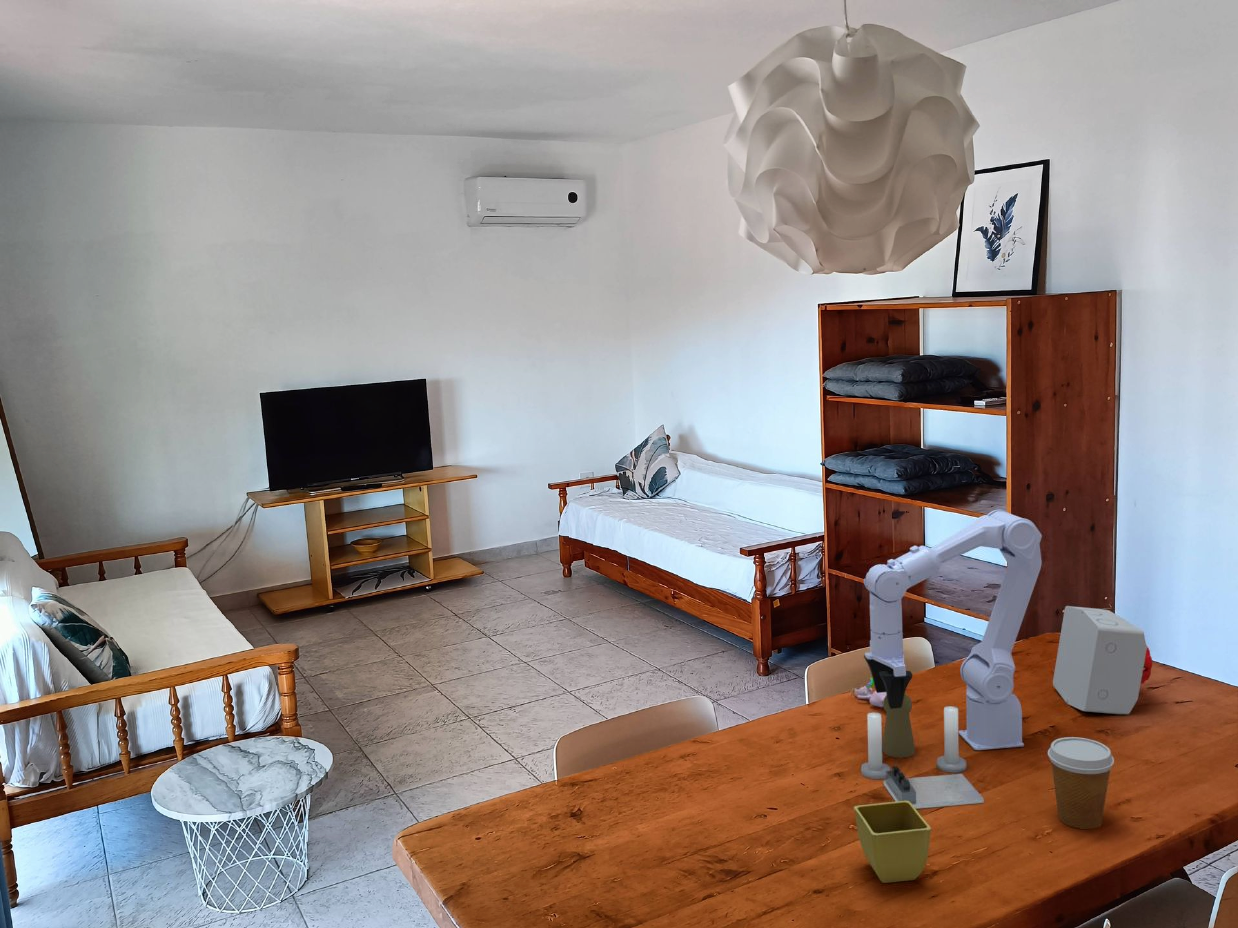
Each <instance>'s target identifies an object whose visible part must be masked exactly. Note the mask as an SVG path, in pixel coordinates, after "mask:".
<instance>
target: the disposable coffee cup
mask: <svg viewBox="0 0 1238 928" xmlns="http://www.w3.org/2000/svg"><path fill="white" fill-rule="evenodd" d="M1047 755H1048V758H1049V760H1050V762H1051V771H1052V777H1053V778H1052V779H1053V785H1054V792H1055V793H1054V794H1055V801H1056V807H1057V809H1056V810H1057V815H1058V819H1059V820H1060V822H1062V823H1063V824H1065V825H1067V826H1069V827H1071V828H1076V829H1081V830H1092V829H1096V828H1099V827H1100V826H1101V825H1102V823H1103V817H1104V816H1103V815H1104V811H1105V805H1106V804H1105V803H1106V797H1107V791H1108V785H1109V779H1110V773H1111V769H1112V767H1113V766H1114V764H1115V758H1114V756H1113V755H1112V753H1111V749H1110V748H1109V747H1108V746H1107V745H1105V744H1103V743H1101V742H1100V741H1097V740H1094V739H1090V738H1085V737H1078V736H1077V737H1075V736H1071V737H1070V736H1069V737H1068V736H1067V737H1066V736H1065V737H1060V738H1057V739H1055V740H1053V741H1052V742H1051V744H1050V748H1049V749H1048V750H1047Z"/></svg>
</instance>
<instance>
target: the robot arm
mask: <svg viewBox="0 0 1238 928" xmlns="http://www.w3.org/2000/svg"><path fill="white" fill-rule="evenodd" d="M1042 537H1043V535H1042V533H1041V532H1040V530H1039V529H1038V527H1037V526H1036V524H1034V522H1032V520H1029V519H1027V518H1023V517H1020V516H1017V515H1014V514H1012V513H1010V512H1008V511H1006V510H1004V509H995V510H991V511H990V512H989V513H987V514H985V515H982V516H979V517H977V519H976V520H975V521H973V522H972V523H971V524H969V525H967V526H966V527H964V528H963V529H961V530H959V531H957V532H956V533H954V534H952V535H951V536H949V537H947V538H945V539H944V540H942V541H941V542H938V543H937V544H935V545H934V546H932V547H928V546H925V545H920V546H918V545H913V546H911V547H910V548H909V550H910V551H908V552H907V553H904V554H902V555H901V556H899V557H897V558H895V559H893V558H891V559H887V563H886V564H883V563H882V564H881V563H879V564H876V565H874V566H872V567H871V568H869V570H868V572H866V575H865V578H864V579H863V584H864V587H865V588H866V589H867V590H868V592H869V617H870V618H869V620H870V621H869V624H870V626H869V627H870V628H869V629H870V640H869V649H870V651H867V652H865V653H864V655H863V658H864V660H865V661H866V664H867V665H868V668H869V671H870V674H871V678H873V682H874V686H875V687H874V690H875V691H876V692H877V693H881V692H886V694H887V700H888V704H889V707H890V708H891V709H893V708H901V707H902V703H903V699H904V694H905V693H906V689H907V688H908V686H909V683H910V681H911V680H912V679H913V673H912V672H911V671H910V670H907V668H906V667H907V665H906V664H905V652H904V644H903V643H904V639H903V638H904V637H903V636H904V635H903V634H904V633H903V611H902V610H903V607H902V598H903V597H904V596H905V594H906V593H907V590H908V589H910V588H911V587H913V586H916V585H918V584H919V583H921V582H923V581H926V580H927V579H929V578H931V577H933V576H935V575H937V574H938V573H939V571H940V569H941V565H942V564H944V563H946V562H948V561H951V560H953V559H955V558H957V557H960V556H962V555H965V554H966V553H968V552H971V551H973V550H975V549H978V548H979V547H983V548H991V549H998V550H999V552H1000V553H1001V555H1002V556H1003V557H1004V559H1005V560H1006V562H1007V568H1006V570H1005V573H1004V575H1003V579H1002V582H1001V584H1000V587H999V591H998V593H997V596H996V599H995V603H994V605H993V609H992V611H991V615H990V617H989V619H988V623H987V626H986V629H985V631H984V633H983V637H982V640H981V641H980V642H979V643H977V644H976V645H974V646H972V648H971V651H970V653H969V655H968V656H967V658H965V659H964V660H963V661H962V663H961V666H960V669H959V670H960V671H959V672H960V677H961V679H962V680H963V682H964V683H965V684H966V693H965V694H966V695H965V696H966V699H965V700H966V729H965V730H963V729H962V730H958V735H960V736H961V738H962V739H964V741H965V742H966V743H968V745H970V746H971V747H972V749H973V750H975V751H981V750H982V751H983V750H995V749H1005V748H1007V749H1010V748H1018V747H1021V748H1022V747H1024V746H1025V743H1023V711H1022V706H1021V702H1020V700H1019V699H1018V697H1017V696H1016V694H1013V691H1014V686H1015V684H1014V683H1015V682H1014V673H1015V671H1016V666H1015V662H1014V659H1013V656H1012V652H1013V649H1014V646H1015V643H1016V640H1017V637H1018V634H1019V631H1020V628H1021V626H1022V623H1023V621H1024V617H1025V614H1026V611H1027V608H1028V605H1029V603H1030V600H1031V596H1032V594H1033V591H1034V588H1035V585H1036V583H1037V580H1038V577H1039V574H1040V571H1041V567H1042V564H1043V563H1042V552H1041V548H1040V547H1041V546H1040V543H1041V540H1042ZM905 695H906V694H905Z"/></svg>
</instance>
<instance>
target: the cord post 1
mask: <svg viewBox="0 0 1238 928" xmlns="http://www.w3.org/2000/svg"><path fill="white" fill-rule="evenodd" d="M866 716H867V752H868V753H867V754H868V760H867V762H864V763H862V764H861V766H860V767H861V768H860V770H861V775H862V776H863V777H865V778H866V777H867V778H866V779H869V778H870V780H875V779H876V780H877V779H880V780H885V779H886V771H890V770H891V768H890V765H888V764H887V763H884V762H883V751H882V746H883V740H882V739H883V737H882V736H883V735H882V730H883V729H882V714H881V713H879V712H868V713H867V715H866ZM877 781H878V780H877Z"/></svg>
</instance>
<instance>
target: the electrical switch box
mask: <svg viewBox="0 0 1238 928" xmlns="http://www.w3.org/2000/svg"><path fill="white" fill-rule="evenodd" d="M1152 668H1153V657H1152V656H1151V651H1150V648H1149V647H1148V646H1147V642H1146V638H1145V632H1144V630H1142V629H1141V628H1139V627H1138V626H1136V625H1134V624H1133V623H1131V622H1129V621H1127V620H1126V619H1124V618H1122V617H1121V616H1120V615H1117V614H1116V613H1114V612H1112V611H1111V610H1108V609H1104V608H1103V609H1102V608H1094V607H1092V608H1091V607H1084V606H1083V607H1080V606H1071V605H1066V606H1065V607H1064V612H1063V618H1062V624H1061V631H1060V637H1059V642H1058V648H1057V654H1056V661H1055V666H1054V672H1053V673H1054V674H1053V679H1052V685H1053V687H1054V689H1056V691H1057V693H1058V694H1059V695H1060V696H1061V698H1062V699H1063V700H1064V702H1065V703H1066V704H1067V705H1068V706H1072V707H1073V708H1076V709H1078V710H1080V711H1082V712H1087V713H1088V712H1089V713H1091V712H1092V713H1103V714H1114V715H1130V714H1131V711H1133V708H1134V707H1135V705H1136V703H1137V701H1138V699H1139V695H1140V690H1141V689H1140V688H1141V684H1145V683H1146V681H1148V680H1149V679H1150V677H1151V675H1152V673H1151V672H1152Z"/></svg>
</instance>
